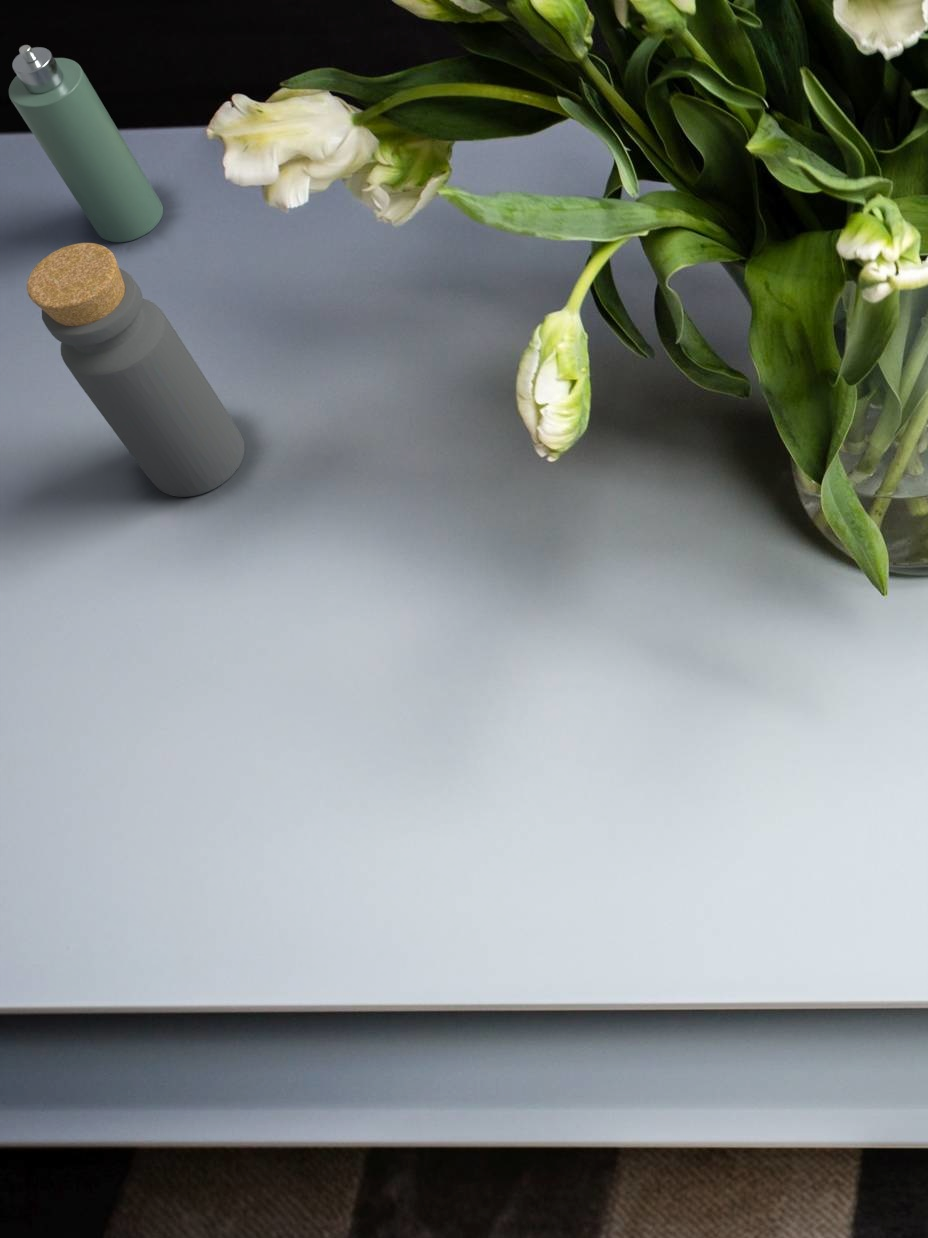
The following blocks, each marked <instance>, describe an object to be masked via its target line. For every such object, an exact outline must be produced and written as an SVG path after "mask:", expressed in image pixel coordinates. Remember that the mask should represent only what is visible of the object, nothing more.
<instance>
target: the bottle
mask: <svg viewBox="0 0 928 1238" xmlns="http://www.w3.org/2000/svg"><path fill="white" fill-rule="evenodd" d="M117 261H118V260H117V259H116V257H115V255H114V253H113V252H112V250H110V249H109V248H108V247H106V246H104V245H101V244H98V243H94V242H80V243H73V244H70V245H67V246H63V247H61V248H59V249H57V250H55V251H52V252H50V253H49V254H48V255H47V256H45V257H44V258H43V259H41V260H40V261H39V262H38V263H37V264H36V265H35V266H34V268H33V269H32V270H31V272H30V275H29V276H28V279H27V282H26V292H27V295H28V297H29V298H30V300H31V301H32V303H34V304H35V305H36V306H37V307H39V308H40V309H41V319H42V322H43V324H44V326H45V327H46V329H47V330H48V332H49V333H50V334H51V335H52V337H54V338H55V340H57V341H59V342H60V356H61V358H62V360H63V363H64V364H65V366H66V367H67V369H68V370H69V372H70V373H71V374H72V376H73V377H74V379H75V380H76V382H77V383H78V385H79V386H80V387H81V388H82V390H83V391H84V393H85V394H86V395H87V397H88V398H89V399H90V401H91V402H92V403H93V405H94V406H95V408H96V409H97V410H98V411H99V413H100V414H101V416H102V417H103V418H104V420H105V421H106V422H107V424H108V425H109V427H110V428H111V429H112V431H113V432H114V433H115V435H116V436H117V437H118V438H119V440H120V441H121V443H122V444H123V445H124V447H125V449H126V450H127V451H128V452H129V454H130V455H131V456H132V458H133V459H134V460H135V462H136V463H137V464H138V466H139V467H140V469H141V470H142V471H143V472H144V474H145V475H146V476H147V477H148V479H149V480H150V481H151V483H152V484H153V485H154V486H155V487H156V489H158V490H159V491H160V492H162V493H164V494H167V495H168V496H173V497H180V498H185V497H186V498H187V497H196V496H199V495H203V494H206V493H208V492H211V491H213V490H215V489H216V488H218V487H220V486H222V485H223V484H225V482H227V481H228V480H229V479H231V477H232V476H233V475H234V474H235V473H236V471H237V470H238V469H239V468H240V466H241V464H242V462H243V459H244V456H245V449H246V447H245V441H244V438H243V436H242V434H241V432H240V430H239V428H238V427H237V425H236V423H235V422H234V420H233V419H232V417H231V415H230V414H229V412H228V411H227V409H226V408H225V406H224V404H223V403H222V401H221V399H220V398H219V396H218V395H217V393H216V392H215V390H214V389H213V387H212V385H211V384H210V382H209V381H208V380H207V378H206V376H205V375H204V373H203V372H202V370H201V368H200V367H199V365H198V364H197V362H196V361H195V359H194V358H193V356H192V354H191V353H190V351H189V350H188V349H187V347H186V345H185V343H184V342H183V340H182V339H181V337H180V336H179V334H178V333H177V331H176V330H175V327H174V326H173V325H172V323H171V322H170V321H169V319H168V317H167V315H165V313H164V312H163V310H162V309H161V308H160V307H159V306H158V305H157V304H156V303H154V302H153V301H152V300H149V299H147V298H143V293H142V290H141V287H140V286H139V285H138V283H137V282H136V280H135V279H134V278H133V276H132V274H130V273H128V272H127V271H126V270H125V269H122V268H121V267H119V264H118V262H117Z"/></svg>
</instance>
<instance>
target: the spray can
mask: <svg viewBox="0 0 928 1238" xmlns="http://www.w3.org/2000/svg"><path fill="white" fill-rule="evenodd" d="M18 51H19V54H18V55H16V56H15V58H14V59H13V61H12V65H11V66H12V69H13V71H14V73H15V74H16V76H15V77H14V78H13V80H12V81H11V83H10V85H9V88H8V96H9V99H10V100H11V103H12V104H13V105H14V107H15V108H16V110H17V112H18V113H19V114H20V116H21V117H22V119H23V121H24V122H25V124H26V125H27V127H28V129H29V130H30V132H31V133H32V134H33V136H34V138H35V139H36V141H37V142H38V143H39V145H40V147H41V148H42V150H43V151H44V153H45V154H46V156H47V157H48V159H49V161H50V163H51V164H52V166H53V167H54V169H55V170H56V171H57V173H58V174H59V177H60V178H61V179H62V181H63V182H64V184H65V185H66V187H67V188H68V190H69V192H70V193H71V195H72V196H73V197H74V199H75V201H76V203H77V204H78V206H79V207H80V209H81V210H82V212H83V213H84V215H85V216H86V218H87V219H88V221H89V222H90V224H91V225H92V227H93V228H94V230H95V231H96V233H97V234H98V236H99V237H100V238H102V239H103V240H105V241H108V242H111V243H127V242H130V241H134V240H137V239H139V238H142V237H144V236H145V235H147V234H148V233H150V232H151V231H153V230H154V229H155V227H157V226H158V224H159V223H160V222H161V220H162V218H163V215H164V206H163V203H162V202H161V199H160V198H159V196H158V195H157V192H156V191H155V189H154V188H153V186H152V185H151V183H150V181H149V180H148V178H147V176H146V174H145V173H144V171H143V169H142V168H141V166H140V164H139V163H138V161H137V159H136V158H135V156H134V154H133V152H132V151H131V149H130V147H129V146H128V143H127V142H126V140H125V139H124V137H123V136H122V133H120V130H119V129H118V127H117V126H116V124H115V122H114V120H113V118H111V116H110V114H109V112H108V110H107V109H106V107H105V106H104V104H103V102H102V100H101V99H100V97H99V95H98V93H97V91H96V89H94V86H93V85H92V83H91V81H89V78H88V76H87V75H86V73H85V72H84V70H83V68H82V67H81V65H80V64H79V63H78V62H76V61H75V60H73V59H70V58H66V57H54V55H53V54H52V52H51V51H50V50H49V49H47V48H45V47H41V46H40V47H39V46H35V47H31V45H28V44H24V45H21V46H20V47H19V49H18Z"/></svg>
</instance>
